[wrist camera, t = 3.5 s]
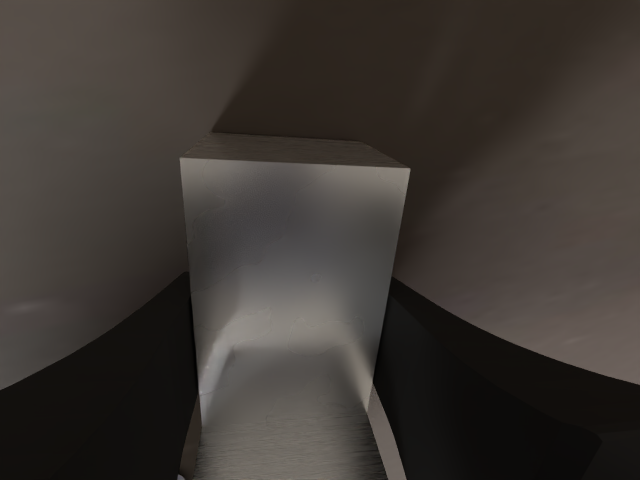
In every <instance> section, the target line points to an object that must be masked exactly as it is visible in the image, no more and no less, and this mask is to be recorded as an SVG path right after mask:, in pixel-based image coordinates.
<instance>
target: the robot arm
mask: <svg viewBox="0 0 640 480" xmlns="http://www.w3.org/2000/svg"><path fill="white" fill-rule="evenodd" d="M373 384H374V386H375V389H376V391H377V394H378V396H379V399H380V401H381V403H382V406H383V408H384V411H385V413H386V416H387V418H388V421H389V423H390V426H391V429H392V432H393V435H394V438H395V441H396V444H397V448H398V451H399V455H400V458H401V461H402V465H403V468H404V471H405V475H406V479H407V480H640V385H638V384H634V383H630V382H627V381H623V380H619V379H615V378H611V377H608V376H604V375H601V374H598V373H595V372H591V371H588V370H585V369H582V368H579V367H576V366H573V365H569V364H566V363H563V362H561V361H558V360H555V359H552V358H549V357H546V356H544V355H541V354H538V353H536V352H533V351H531V350H528V349H526V348H523V347H521V346H518V345H515V344H513V343H511V342H508V341H506V340H504V339H501V338H499V337H497V336H495V335H493V334H491V333H489V332H487V331H484V330H482V329H480V328H478V327H476V326H474V325H472V324H470V323H468V322H466V321H464V320H462V319H461V318H459V317H457V316H455V315H454V314H452V313H450V312H448V311H446V310H445V309H443V308H441V307H440V306H438V305H436V304H435V303H433V302H431V301H430V300H428V299H426V298H425V297H423V296H422V295H420V294H419V293H417V292H415V291H414V290H412V289H411V288H409V287H408V286H406V285H405V284H403V283H402V282H400V281H398V280H397V279H395V278H394V277H392V276H391V281H390V287H389V292H388V298H387V303H386V309H385V314H384V320H383V326H382V331H381V337H380V342H379V348H378V354H377V359H376V365H375V370H374V376H373ZM198 391H199V383H198V371H197V359H196V347H195V335H194V323H193V311H192V299H191V287H190V275H189V272H184V273H183V274H181V275H180V276H179V277H178V278H177V279H175V280H174V281H173V282H172V283H171V284H170V285H168V286H167V287H166V288H165V289H164V290H162V291H161V292H160V293H159V294H157V295H156V296H155V297H154V298H153V299H151V300H150V301H149V302H148V303H146V304H145V305H144V306H143V307H141V308H140V309H139V310H137V311H136V312H134V313H133V314H132V315H130V316H129V317H128V318H126V319H125V320H123V321H122V322H121V323H119V324H118V325H117V326H115V327H114V328H112V329H111V330H109V331H108V332H106V333H105V334H103V335H102V336H100V337H99V338H97V339H96V340H94V341H92V342H91V343H89V344H87V345H86V346H84V347H82V348H81V349H79V350H77V351H76V352H74V353H72V354H70V355H69V356H67V357H65V358H63V359H61V360H60V361H58V362H56V363H54V364H52V365H50V366H48V367H46V368H44V369H42V370H40V371H38V372H36V373H34V374H32V375H31V376H29V377H27V378H25V379H23V380H21V381H19V382H17V383H15V384H13V385H11V386H9V387H7V388H4V389H2V390H0V480H185V479H184V477H182V476H181V475H178V473H179V467H180V461H181V456H182V451H183V447H184V443H185V438H186V434H187V431H188V427H189V424H190V420H191V416H192V413H193V409H194V405H195V402H196V398H197V394H198Z"/></svg>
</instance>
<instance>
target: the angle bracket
mask: <svg viewBox="0 0 640 480" xmlns="http://www.w3.org/2000/svg"><path fill="white" fill-rule="evenodd" d="M180 167H181V179H182V191H183V203H184V215H185V227H186V239H187V251H188V263H189V275H190V287H191V299H192V311H193V323H194V335H195V347H196V359H197V371H198V383H199V395H200V407H201V419H202V430H201V436H200V442H199V448H198V453H197V459H196V465H195V470H194V476H193V480H388V478H387V475H386V471H385V468H384V465H383V462H382V459H381V456H380V453H379V450H378V447H377V444H376V440H375V437H374V434H373V431H372V428H371V425H370V422H369V419H368V416H367V409H368V404H369V398H370V393H371V387H372V381H373V376H374V370H375V365H376V359H377V354H378V348H379V342H380V337H381V331H382V326H383V320H384V314H385V309H386V303H387V298H388V292H389V287H390V281H391V275H392V270H393V264H394V259H395V253H396V247H397V242H398V236H399V231H400V225H401V220H402V214H403V208H404V203H405V197H406V192H407V186H408V180H409V175H410V169H411V168H409V167H407V166H405V165H403V164H401V163H399V162H398V161H396V160H394V159H392V158H390V157H388V156H387V155H385V154H383V153H381V152H379V151H377V150H375V149H374V148H372V147H370V146H368V145H366V144H364V143H363V142H361V141H347V140H331V139H314V138H297V137H280V136H263V135H246V134H229V133H212V132H209V133H208V134H207V135H206V136H205V137H204V138H202V139H201V140H200V141H199V142H198V143H197V144H195V145H194V146H193V147H192V148H191V149H189V150H188V151H187V152H186V153H185V154H184V155H182V156H181V157H180Z"/></svg>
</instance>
